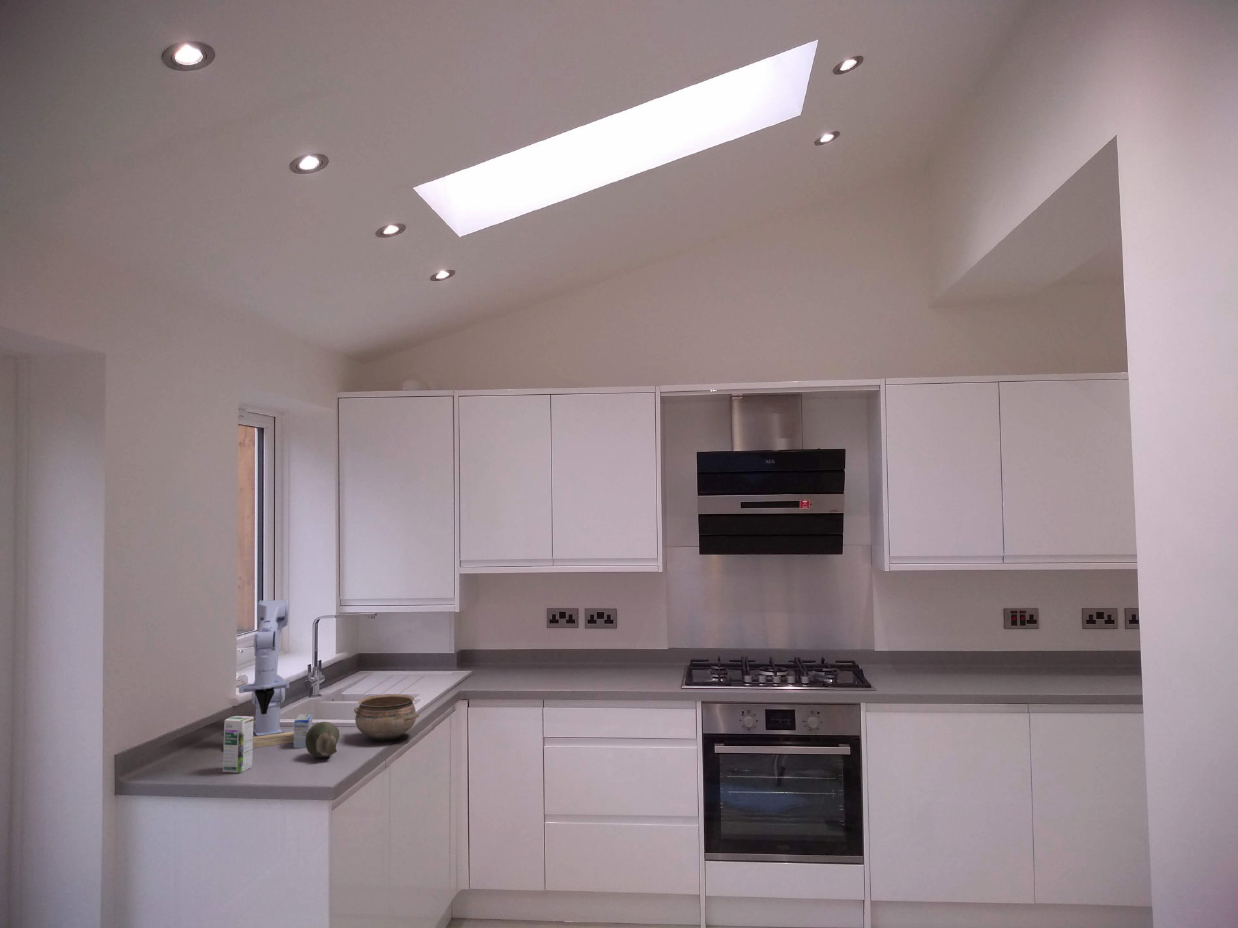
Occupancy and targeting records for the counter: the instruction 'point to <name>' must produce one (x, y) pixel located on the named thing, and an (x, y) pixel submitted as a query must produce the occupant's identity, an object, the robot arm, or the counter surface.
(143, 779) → the counter surface
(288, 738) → the pine board
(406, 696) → the cooking pot
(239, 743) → the syrup box
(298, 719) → the medicine box
